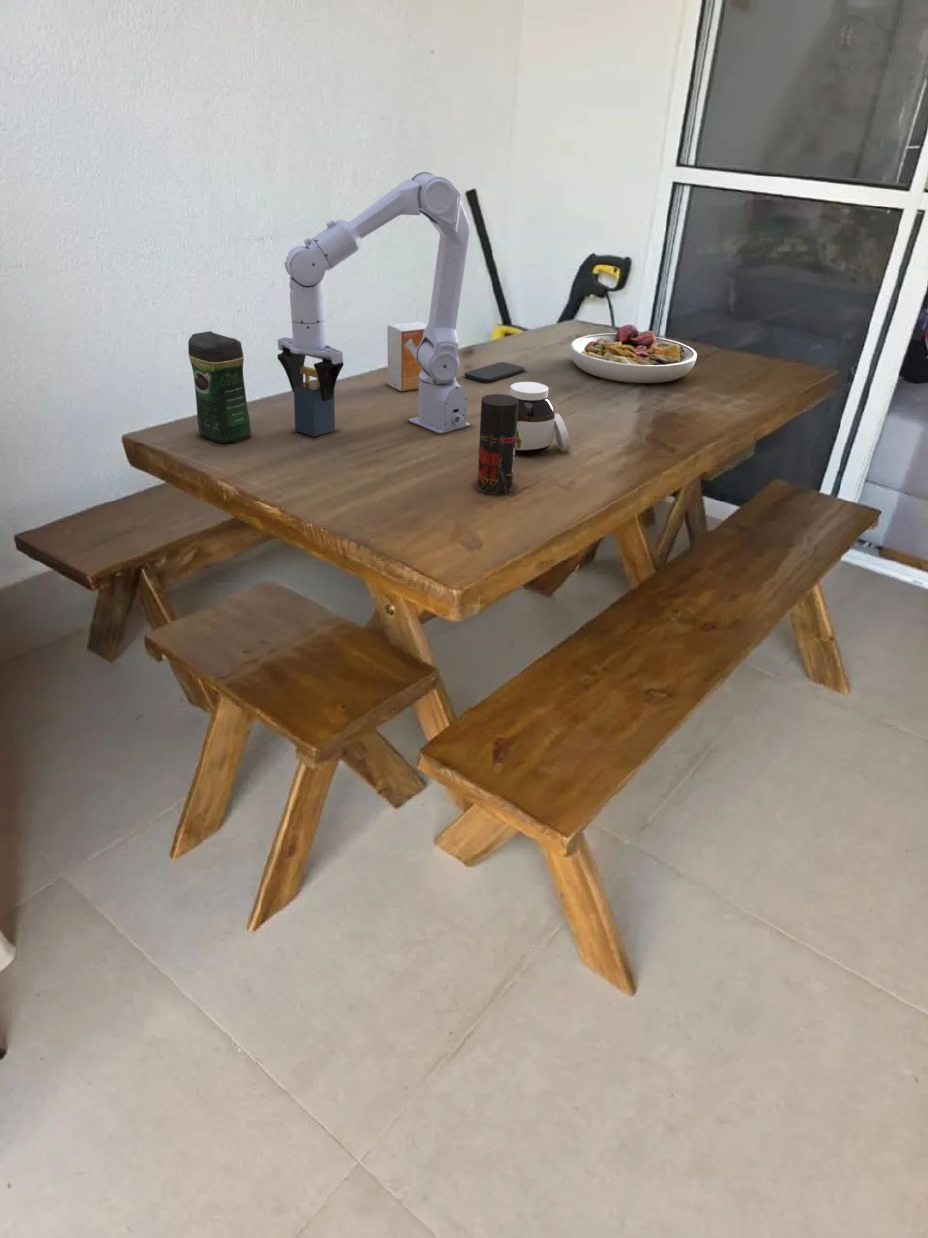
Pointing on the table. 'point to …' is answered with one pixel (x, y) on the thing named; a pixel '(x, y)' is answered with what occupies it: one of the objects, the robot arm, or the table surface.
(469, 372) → the phone
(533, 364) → the table surface
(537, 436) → the spread jar
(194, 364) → the coffee jar
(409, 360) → the small box
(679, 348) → the bowl
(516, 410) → the deodorant
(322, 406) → the box
